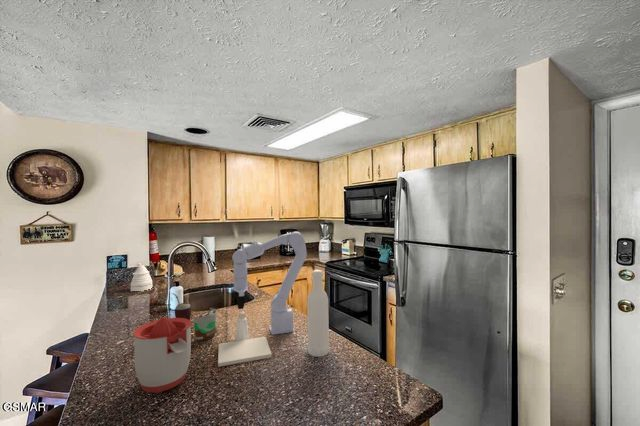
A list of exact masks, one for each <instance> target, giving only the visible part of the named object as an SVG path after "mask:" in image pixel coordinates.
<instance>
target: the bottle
mask: <svg viewBox="0 0 640 426" xmlns="http://www.w3.org/2000/svg"><path fill="white" fill-rule="evenodd" d="M311 276H312V289H311V291H310V292H309V293H308V296H307V299H306V300H307V301H306V302H307V303H306V304H307V305H306V308H307V317H306V318H307V353H308V354H309V355H310V356H312V357H315V358H317V357H324V356H327V355H328V354H329V353H330V352H329V351H330V340H329V338H330V336H329V335H330V333H329V331H330V329H329V327H330V326H329V325H330V324H329V319H330V318H329V297H328V294H327V292H326V291H325V290H324V289H323V276H324V275H323V271H322V270H321V269H314V270H312V274H311Z"/></svg>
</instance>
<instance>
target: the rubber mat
mask: <svg viewBox="0 0 640 426" xmlns="http://www.w3.org/2000/svg"><path fill="white" fill-rule="evenodd" d="M217 353H218V355H217V356H218V358H217V367H218V368H219V367H223V366H230V365H236V364H241V363H242V364H243V363H248V362H252V361H258V360H264V359H269V358H270V359H271V358H272V355H273V354H272V351H271V348H270V345H269V343H268V339H267V336H262V337H261V336H260V337H255V338H249V339H247V340H240V341H236V340H234V341H228V342H222V343H218V352H217Z"/></svg>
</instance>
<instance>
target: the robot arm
mask: <svg viewBox="0 0 640 426" xmlns="http://www.w3.org/2000/svg"><path fill="white" fill-rule="evenodd" d="M279 245H284V246H288V245H289V246H291V247H292V248H293V251H294V254H295V256H294V258H293V260H292V262H291V264H290V266H289V267H288V271H287V273H286V275H285V276H284V279H283V281H282V283H281V286H280V287H279V289H278V290H277V292H276V293H274V294H273V296H272V299H271V300H272V301H271V303H270V306H271V307H270V326H269V327H268V329H269V331H270V333H271V335H272V336H274V335H280V334H286V333H287V334H288V333H293V332H294V331H295V330H294V313H293V309H292V308H288V307H287V300H288V297H289V295H290V292H291V290H292V289H293V285H294V284H295V282H296V279H297V278H298V275H299V273H300V271H301V269H302V267H303V266H304V263H305V260H306V259H307V256H308V252H307V247H306V246H307V245H306V240H305V238H304V236H303V234H302V233H301V232H299V231H292V232H289V233H285V234H281V235H279V236H276V237H274V238H272V239H270V240H268V241H266V242H263V243H261V242H259V241H257V242H256V241H254V242H252V243H251V244H250V245H247V246H243V247H241V248H239V249H237V250H236V251H234V252H233V253H232V256H231V259H232V262H233V286H232V287H230V290H231V291H234V292H233V297H235V300H236V304H237V309H238V310H243V309H244V308H245V301H246V298H247V296H248V289H249V286H248V261H247V260H249V261H250V260H251V259H254V258H257V257H259V256H262V255H264V252H265V251H267V250H268V249H271V248H274V247H277V246H279Z"/></svg>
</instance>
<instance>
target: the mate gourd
mask: <svg viewBox="0 0 640 426" xmlns="http://www.w3.org/2000/svg"><path fill="white" fill-rule="evenodd" d="M171 294H172V295H174V296H175V298H176V300H177V303H178V304H176V306H175V308H174V316H175V317H174V318H185V319H188V320H190V321H191V316H192V307H191V304H190V303H189V302H180V300H179V296H178V295H177V294H175V293H174V292H173V293H171Z"/></svg>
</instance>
